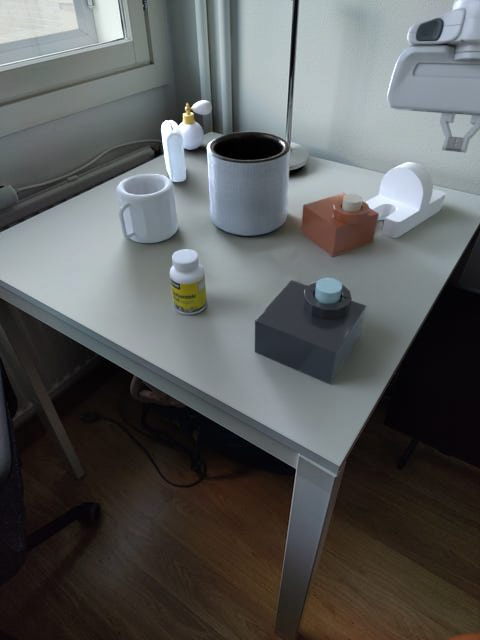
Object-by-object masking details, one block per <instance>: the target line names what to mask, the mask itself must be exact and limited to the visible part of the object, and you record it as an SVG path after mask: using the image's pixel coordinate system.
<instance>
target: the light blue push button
mask: <svg viewBox="0 0 480 640" xmlns="http://www.w3.org/2000/svg"><path fill="white" fill-rule="evenodd" d="M316 282H317V283H316V288H315V298H316V300H317V301H319V302H321V303H324V304H335V303H337V302H338V301H339V300H340V298H341V292H342V285H343V284H342V283H341V281H340V280H338V279H336V278H333V277H322V278H320V279H318V280H317V281H316Z"/></svg>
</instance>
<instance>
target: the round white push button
mask: <svg viewBox="0 0 480 640" xmlns="http://www.w3.org/2000/svg"><path fill="white" fill-rule="evenodd" d="M346 194H347V195H345V196H344V197H343V203H342V209H343V210H345V211H349V212H357V211H360V210H361V205H362V201H363V197H362V196H361V195H360V194H356V193H346Z"/></svg>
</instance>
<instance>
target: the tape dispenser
mask: <svg viewBox="0 0 480 640" xmlns="http://www.w3.org/2000/svg"><path fill="white" fill-rule="evenodd" d="M445 196H446V192H445V191H443V190H441V189H437V188H434V182H433V179H432V176H431V174H430V173H429V171H428V169H426V167H424V166H423V165H421V164H419V163H418V162H413V161H408V162H407V161H406V162H404V163H401V164H399V165H397V166H396V167H393V168H391V169H389V170H388V171H387V172H386V173H384V175H383V176H382V179H381V182H380V185H379V191H378V194H377V195H375V196H373V197H372V198H369V199H368V200H366V201H364V202H365V203H367V204H368V206H369V208H371V209H372V210H374V211H376V212H377V213H379V215H378V220H377V222H378V221H383V226H382V231H381V234H382V235H384V236H385V237H388V238H391V239H398V238H399V237H401V236H403V235H404V234H406V233H407V232H409V231H410V230H413V228H415V227H417V226H418V225H420V224H421V223H423V222H425V221H426V220H428V219H429V218H431V217H433V216H434V215H436V214H437V213H439V212H440V211H442V210H441V209H442V207H443V204H444V200H445Z"/></svg>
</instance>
